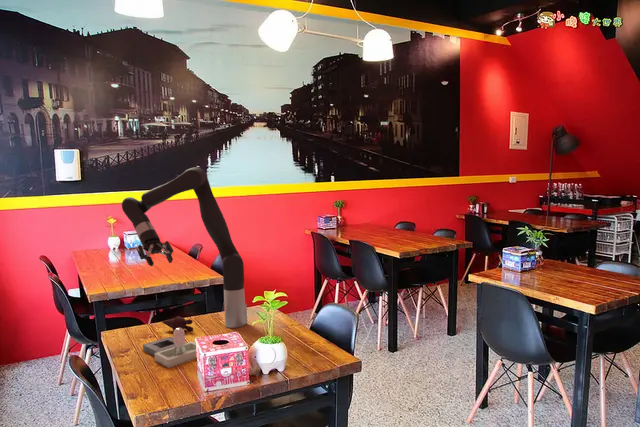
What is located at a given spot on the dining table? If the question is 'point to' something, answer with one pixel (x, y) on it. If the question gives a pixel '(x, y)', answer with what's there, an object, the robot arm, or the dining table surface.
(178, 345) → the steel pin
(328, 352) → the dining table surface
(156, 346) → the plate
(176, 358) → the tray
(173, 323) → the brown lobed piece
